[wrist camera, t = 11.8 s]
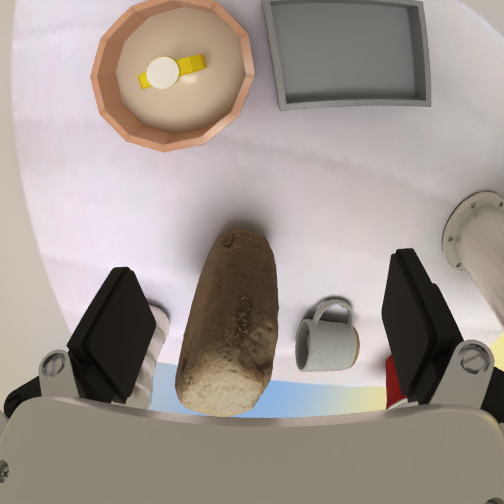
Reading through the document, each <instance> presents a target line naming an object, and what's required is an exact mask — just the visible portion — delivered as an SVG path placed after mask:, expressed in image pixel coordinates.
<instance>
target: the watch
mask: <svg viewBox="0 0 504 504" xmlns="http://www.w3.org/2000/svg"><path fill="white" fill-rule="evenodd" d="M206 68H207V64H206V61H205V57H204V55H203V54H198V55H193V56H189V57H185V58H181V59H178V60H175V59H173V58H171V57H158V58H156V59H154V60H153V61H152V62H151V63H150V64H149V66H148V67H147V70H146V71H145V72H143V73H141V74H140V75H138V80H139V83H140V86H141V89H146V88H149V87H152V86H153V87H155V88H157V89H166V88H169V87H171V86H173V85H174V84H175V83H176V82H177V81H178V80H179V78H180V77H181V76H184V75H188V74H191V73H195V72H197V71H200V70H203V69H206Z"/></svg>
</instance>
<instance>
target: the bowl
mask: <svg viewBox="0 0 504 504" xmlns="http://www.w3.org/2000/svg"><path fill="white" fill-rule="evenodd" d="M198 54H203V55H204V57H205V61H206V64H207V68H206V69H203V70H200V71H197V72H195V73H191V74H188V75H184V76H181V77H180V78H179V80H178V81H177V82H176V83H175V84H174V85H173V86H171V87H169V88H166V89H157V88H155V87H153V86H152V87H149V88H146V89H141V86H140V83H139V80H138V75H140V74H141V73H143V72H145V71H146V70H147V67H148V66H149V64H150V63H151V62H152V61H153V60H154V59H156V58H158V57H171V58H173V59H175V60H178V59H181V58H185V57H189V56H193V55H198ZM255 76H256V71H255V65H254V59H253V53H252V47H251V42H250V37H249V35H248V33H247V32H246V31H245V30H244V29H243V28H242V27H241V26H240V25H239V24H238V22H237V21H236V20H235V19H234V18H233V17H232V16H231V15H230V14H229V13H228V12H227V11H226V10H225V9H224V8H223V7H222V6H221V5H220V4H219V3H218V2H215V1H211V0H148V1H145V2H142V3H140V4H137V5H134V6H131V7H130V8H129V9H128V10H127V11H126V12H125V13H124V14H123V15H122V16H121V17H120V18H119V19H118V20H117V21H116V22H115V23H114V24H113V25H112V26H111V27H110V28H109V30H108V31H107V32H106V33H105V34H104V35H103V36H102V37H101V39H100V43H99V46H98V50H97V53H96V57H95V60H94V64H93V68H92V72H91V76H90V78H91V82H92V86H93V90H94V94H95V98H96V102H97V106H98V110H99V113H100V115H101V116H102V117H103V118H104V119H105V120H106V121H107V122H108V123H109V124H110V125H111V126H112V127H113V128H114V129H115V130H116V131H117V132H118V133H119V135H120V136H121V137H122V138H123V139H124V140H125V141H127V142H131V143H134V144H137V145H141V146H144V147H148V148H151V149H154V150H157V151H161V152H168V151H172V150H177V149H182V148H187V147H192V146H198V145H203V144H205V143H206V142H208V141H209V140H210V139H211V138H212V137H214V136H215V135H216V134H217V133H219V132H220V131H221V130H222V129H224V128H225V127H226V126H227V125H229V124H230V123H231V122H232V121H234V120H235V119H236V118H238V117H239V114H240V112H241V109H242V107H243V104H244V102H245V100H246V97H247V95H248V92H249V90H250V87H251V85H252V83H253V80H254V78H255Z"/></svg>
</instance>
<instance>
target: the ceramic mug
mask: <svg viewBox="0 0 504 504" xmlns="http://www.w3.org/2000/svg"><path fill="white" fill-rule="evenodd" d="M335 304H338V305H341V306H342V307H343V308H346V309H348V311H349V319H348V323H347V324H345V323H339V322H328V321H321V320H319V319H320V317H321V315H322V314H323V312H324V311H325V310H326V309H328V308H329V307H331V306H333V305H335ZM353 323H354V312H353V310H352V308H351V307H350V306H349V304H348V303H346V302H345V301H343V300H340V299H331V300H328V301H326V302H324V303H323V304H322V305H320V306H319V308H318V309H317V311H316V313H315V315H314V317H313V319H304V320H303V321H302V322H301V324H300V326H299V329H298V333H297V338H296V345H295V354H296V355H295V356H296V363H297V367H298V369H299V370H300V371H301V372H314V371H340V370H345V369H348V368H350V367H352V366H353V365H354V363H355V362H356V360H357V357H358V354H359V348H360V342H359V335H358V333H357V331H356V329H355V328H354V327H353Z"/></svg>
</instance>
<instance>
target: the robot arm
mask: <svg viewBox="0 0 504 504" xmlns="http://www.w3.org/2000/svg"><path fill="white" fill-rule="evenodd" d="M442 247H443V253H444V256H445V258H446V259H447V261H448V263H449V264H450V265H451V266H452V267H454V268H455V269H458V270H461V271H468V273H469V274H470V276H471V277H472V279H473V280H474V282H475V283H476V285H477V286H478V288H479V290H480V291H481V293H482V294H483V296H484V297H485V299H486V301H487V302H488V304H489V306H490V307H491V309H492V311H493V312H494V314H495V316H496V317H497V319H498V321H499V323H500V324H501V326H502V328H503V330H504V200H503V199H502V198H501V197H500V196H499V195H497V194H495V193H492V192H481V193H477V194H475V195H473V196H471V197H469V198H468V199H467V200H465V201H464V202H463V203H462V204H461V205H460V206H459V207H458V208H457V209H456V210H455V212H454V213H453V214H452V216H451V218H450V219H449V221H448V223H447V226H446V228H445V231H444V235H443V242H442ZM382 320H383V324H384V327H385V331H386V334H387V338H388V342H389V345H390V349H391V353H392V357H393V361H394V365H395V369H396V373H397V377H398V381H399V386H400V390H401V394H402V395H403V396H404V395H406V397H407V401H408V403H411V402H416V401H418V405H416V406H409V407H400V408H393V409H386V410H379V411H372V412H362V413H351V414H342V415H330V416H315V417H296V418H295V417H293V418H238V417H216V416H201V415H189V414H179V413H169V412H161V411H153V410H146V409H139V408H133V407H127V406H121V405H116V404H111V402H112V401H113V402H114V403H120V404H126V401H127V398H128V397H130V396H131V394H132V392H133V389H134V386H135V383H136V380H137V377H138V375H139V372H140V369H141V366H142V364H143V361H144V358H145V355H146V353H147V350H148V347H149V345H150V342H151V339H152V337H153V334H154V332H155V329H156V320H155V317H154V315H153V313H152V311H151V309H150V307H149V305H148V302H147V300H146V298H145V296H144V294H143V291H142V289H141V287H140V285H139V282H138V280H137V278H136V275H135V273H134V272H133V271H132V270H130V268H128V267H115V268H113V269H112V270H111V272H110V274H109V275H108V277H107V278H106V280H105V281H104V283H103V284H102V286H101V288H100V289H99V291H98V292H97V294H96V296H95V297H94V299H93V300H92V302H91V304H90V305H89V307H88V309H87V310H86V312H85V314H84V315H83V317H82V319H81V321H80V322H79V324H78V326H77V327H76V329H75V331H74V333H73V335H72V336H71V338H70V340H69V342H68V343H67V345H66V346H67V347H68V348H69V351H68V353H67V352H65V351H64V350H55V351H52V352H50V353H49V354H47V355H46V356H45V357H44V358H43V360H42V361H41V363H40V366H39V376H37V377H36V378H34V379H32V380H31V381H29V382H27V383H26V384H24V385H22V386H21V387H19V388H17V389H16V390H14V391H13V392H11V393H10V394H9V395H8V396H7V398H6V400H5V403H4V412H3V411H2V410H0V504H504V372H503V371H502V370H499V369H498V368H496V367H494V357H493V354H492V352H491V350H490V349H489V348H488V347H487V346H486V345H485V344H483V343H482V342H480V341H477V340H466V341H464V340H463V337H462V335H461V333H460V331H459V328H458V326H457V324H456V322H455V320H454V318H453V316H452V313H451V311H450V309H449V307H448V305H447V303H446V301H445V299H444V297H443V295H442V293H441V291H440V289H439V288H438V286H437V285H436V284H434V283H433V284H432V282H431V280H430V278H429V276H428V274H427V272H426V271H425V269H424V267H423V265H422V263H421V261H420V260H419V258H418V256H417V254H416V253H415V251H414V249H413V248H406V249H397V250H396V253H395V254H392V255H391V259H390V266H389V272H388V278H387V284H386V289H385V295H384V300H383V305H382Z"/></svg>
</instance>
